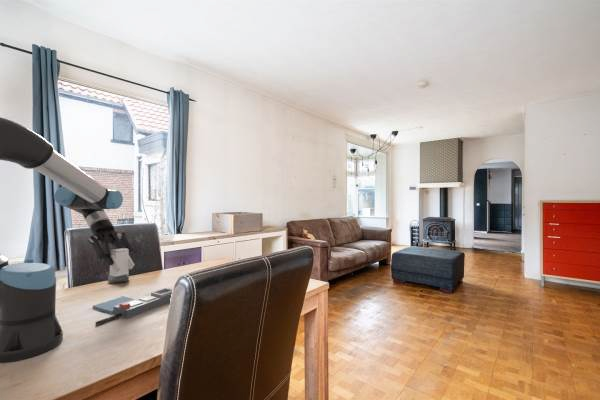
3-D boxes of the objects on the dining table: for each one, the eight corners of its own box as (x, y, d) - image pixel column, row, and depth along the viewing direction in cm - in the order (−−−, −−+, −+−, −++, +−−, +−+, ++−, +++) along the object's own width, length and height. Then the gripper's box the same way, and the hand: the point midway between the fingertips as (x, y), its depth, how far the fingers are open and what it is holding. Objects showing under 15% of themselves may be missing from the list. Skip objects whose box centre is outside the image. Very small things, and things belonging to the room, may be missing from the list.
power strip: (103, 327, 95) (103, 315, 95) (89, 323, 98) (89, 310, 98) (181, 297, 124) (181, 288, 123) (168, 295, 127) (168, 285, 127)
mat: (111, 314, 106) (111, 311, 106) (92, 308, 111) (92, 305, 111) (142, 303, 117) (142, 301, 117) (123, 298, 122) (123, 296, 122)
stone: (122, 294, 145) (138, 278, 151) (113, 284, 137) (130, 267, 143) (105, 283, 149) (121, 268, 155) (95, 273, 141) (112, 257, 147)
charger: (116, 276, 111) (116, 251, 111) (109, 275, 113) (109, 250, 113) (128, 273, 116) (128, 248, 116) (122, 272, 118) (122, 248, 118)
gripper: (118, 228, 129) (142, 269, 122) (71, 233, 113) (96, 280, 106) (125, 217, 127) (150, 258, 120) (79, 220, 110) (105, 267, 104)
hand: (125, 268), depth 113 cm, fingers closed on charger, 5 cm apart
